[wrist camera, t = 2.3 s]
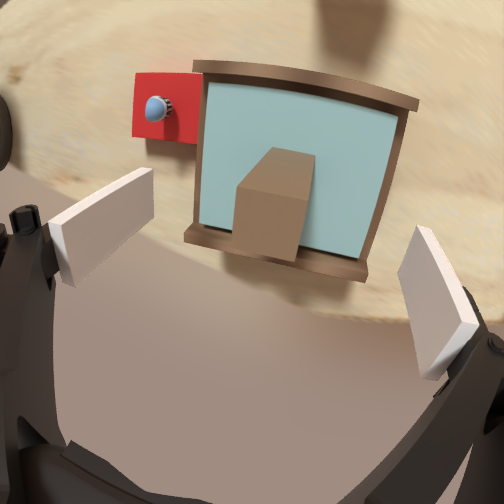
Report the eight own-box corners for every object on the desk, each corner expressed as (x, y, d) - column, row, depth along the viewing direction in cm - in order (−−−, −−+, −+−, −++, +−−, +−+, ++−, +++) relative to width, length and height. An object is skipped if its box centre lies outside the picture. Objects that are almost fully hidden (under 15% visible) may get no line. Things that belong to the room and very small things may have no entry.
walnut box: (218, 202, 32) (183, 242, 25) (231, 66, 25) (193, 59, 17) (357, 232, 30) (364, 283, 23) (391, 96, 23) (419, 99, 15)
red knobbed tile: (220, 75, 25) (194, 73, 20) (212, 140, 29) (187, 153, 24) (150, 72, 26) (114, 73, 21) (145, 131, 30) (111, 144, 25)
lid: (204, 217, 25) (143, 289, 17) (214, 82, 19) (136, 84, 11) (357, 250, 24) (367, 343, 15) (394, 115, 18) (448, 137, 9)
